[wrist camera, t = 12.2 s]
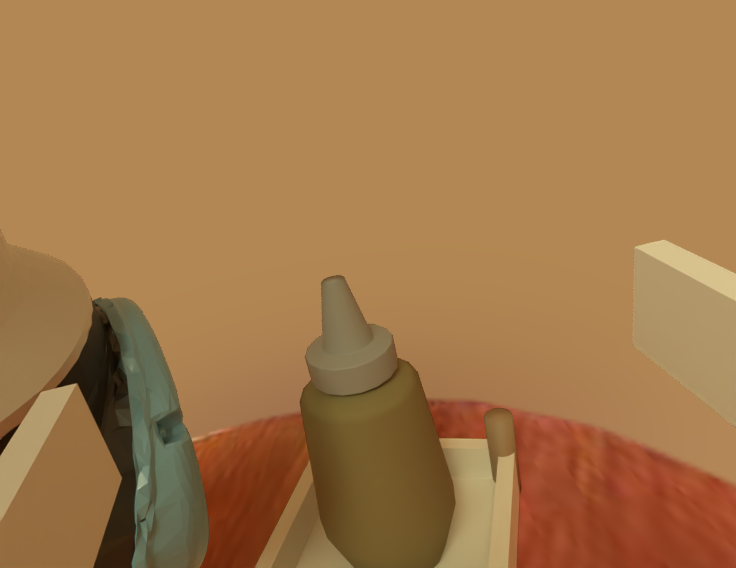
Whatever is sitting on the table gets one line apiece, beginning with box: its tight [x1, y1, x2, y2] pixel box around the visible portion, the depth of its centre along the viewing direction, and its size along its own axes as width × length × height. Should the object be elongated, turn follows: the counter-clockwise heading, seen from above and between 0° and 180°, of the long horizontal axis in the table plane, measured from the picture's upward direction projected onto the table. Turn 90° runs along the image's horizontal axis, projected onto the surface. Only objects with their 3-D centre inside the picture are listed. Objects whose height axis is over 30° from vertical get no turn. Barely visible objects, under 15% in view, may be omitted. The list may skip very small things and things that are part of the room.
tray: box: [255, 408, 521, 568], centre depth 34 cm, size 14×14×6 cm
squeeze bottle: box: [300, 275, 456, 568], centre depth 31 cm, size 8×8×18 cm
